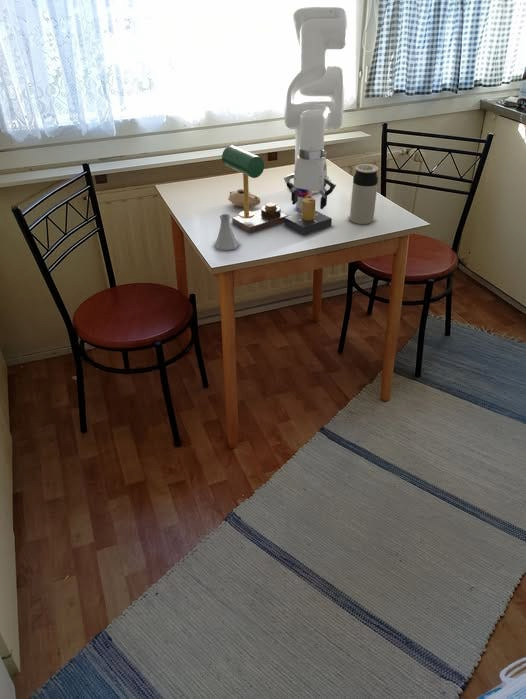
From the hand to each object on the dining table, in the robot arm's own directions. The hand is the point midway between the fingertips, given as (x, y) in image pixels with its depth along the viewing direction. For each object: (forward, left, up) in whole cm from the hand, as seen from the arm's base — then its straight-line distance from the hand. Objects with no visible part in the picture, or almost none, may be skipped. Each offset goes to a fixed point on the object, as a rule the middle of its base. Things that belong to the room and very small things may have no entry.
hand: (308, 205), depth 189 cm
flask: (+30, -4, -7) cm, 31 cm away
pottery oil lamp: (+7, -27, -7) cm, 28 cm away
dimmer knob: (0, 0, -4) cm, 4 cm away
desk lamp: (+17, -12, -3) cm, 21 cm away
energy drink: (-8, -12, -7) cm, 16 cm away
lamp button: (+7, -12, -3) cm, 14 cm away
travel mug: (-18, +7, -7) cm, 20 cm away
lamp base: (+11, -12, -7) cm, 18 cm away
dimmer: (0, 0, -7) cm, 7 cm away
